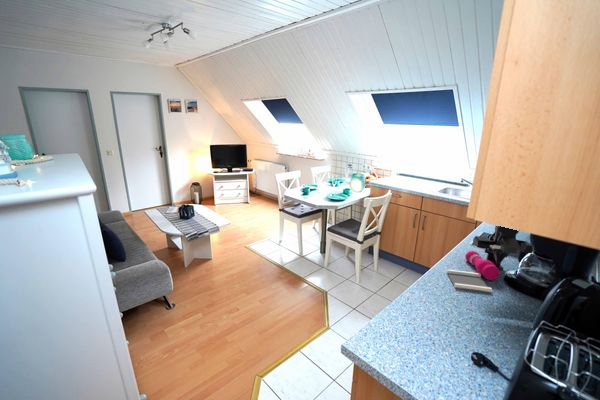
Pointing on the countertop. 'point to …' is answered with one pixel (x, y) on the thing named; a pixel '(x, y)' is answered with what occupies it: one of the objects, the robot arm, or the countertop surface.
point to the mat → (468, 281)
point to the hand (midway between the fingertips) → (497, 263)
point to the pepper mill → (482, 265)
